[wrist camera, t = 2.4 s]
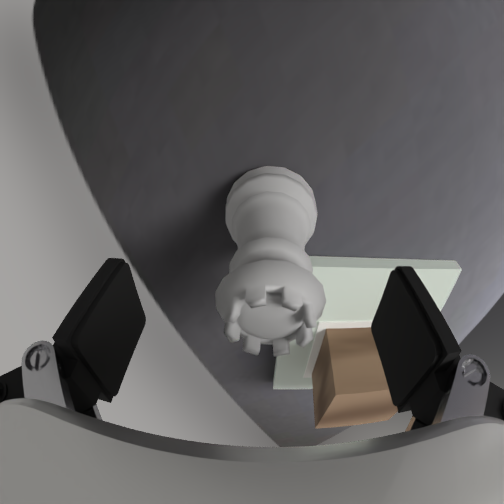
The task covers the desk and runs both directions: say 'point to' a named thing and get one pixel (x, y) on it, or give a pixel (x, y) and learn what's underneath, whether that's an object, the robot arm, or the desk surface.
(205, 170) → the desk surface
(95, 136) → the desk surface
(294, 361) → the build board
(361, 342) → the walnut block
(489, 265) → the desk surface
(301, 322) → the rook chess piece
